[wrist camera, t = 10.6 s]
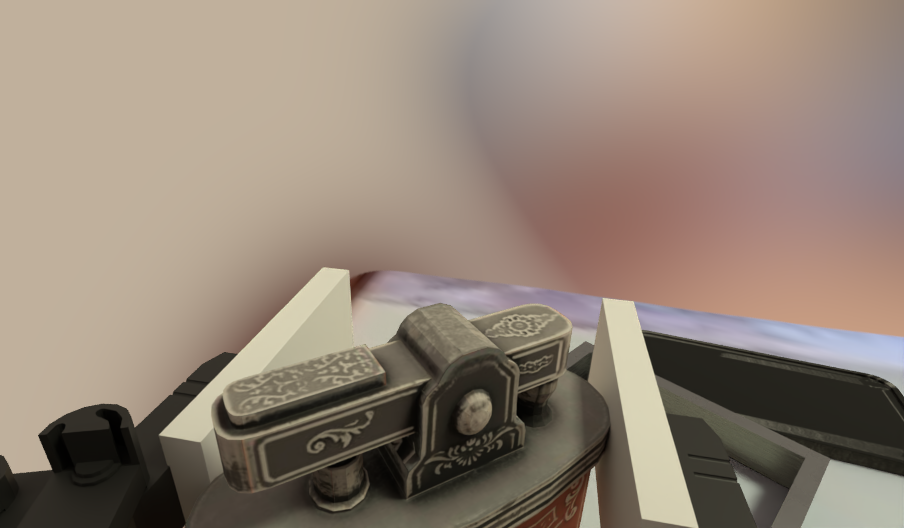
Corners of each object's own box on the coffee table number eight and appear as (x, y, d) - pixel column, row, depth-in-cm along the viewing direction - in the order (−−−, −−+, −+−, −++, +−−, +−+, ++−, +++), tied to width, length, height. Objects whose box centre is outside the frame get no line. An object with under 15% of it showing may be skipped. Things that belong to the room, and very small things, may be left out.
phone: (958, 475, 24) (623, 396, 28) (947, 493, 24) (620, 412, 28) (890, 377, 30) (629, 325, 35) (883, 392, 31) (626, 339, 35)
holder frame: (815, 490, 23) (830, 458, 23) (712, 727, 15) (729, 691, 14) (581, 368, 31) (585, 341, 31) (432, 481, 23) (432, 448, 23)
